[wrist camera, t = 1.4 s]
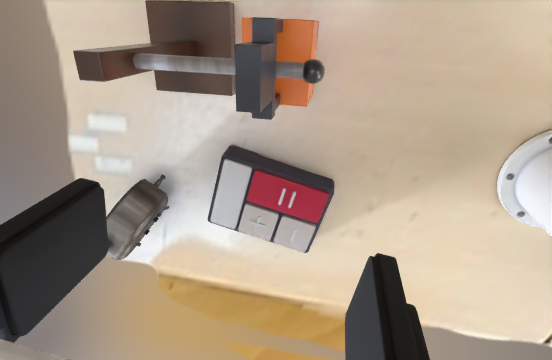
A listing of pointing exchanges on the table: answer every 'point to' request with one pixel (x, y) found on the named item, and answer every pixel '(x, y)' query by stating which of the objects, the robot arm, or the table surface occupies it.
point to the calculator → (269, 199)
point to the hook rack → (184, 51)
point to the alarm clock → (134, 217)
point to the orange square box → (272, 64)
